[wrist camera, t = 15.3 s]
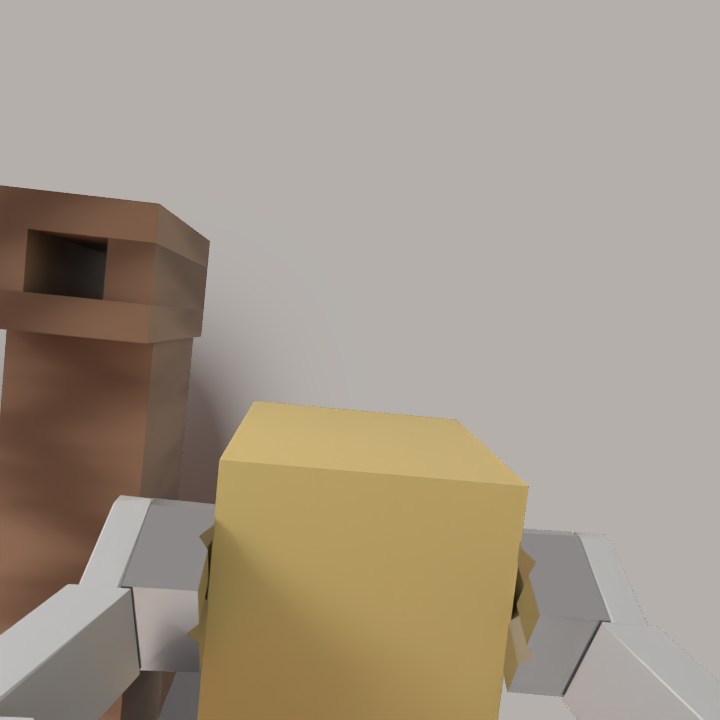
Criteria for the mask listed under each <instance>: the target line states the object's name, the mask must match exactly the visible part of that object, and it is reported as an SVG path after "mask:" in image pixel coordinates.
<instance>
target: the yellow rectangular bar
mask: <svg viewBox="0 0 720 720" xmlns="http://www.w3.org/2000/svg"><path fill="white" fill-rule="evenodd" d="M528 487H529V486H528V485H527V484H526V483H525V482H523V481H522V480H521V479H520V478H519V477H518V476H517V475H516V474H515V473H514V472H513V471H512V470H510V469H509V468H508V467H507V466H506V465H505V464H504V463H503V462H502V461H501V460H500V459H499V458H497V457H496V456H495V455H494V454H493V453H492V452H491V451H490V450H489V449H488V448H487V447H486V446H484V445H483V444H482V443H481V442H480V441H479V440H478V439H477V438H476V437H475V436H474V435H473V434H472V433H470V432H469V431H468V430H467V429H466V428H465V427H464V426H463V425H462V424H461V423H460V422H459V421H457V420H455V419H444V418H433V417H422V416H412V415H401V414H390V413H379V412H368V411H358V410H346V409H336V408H325V407H315V406H303V405H292V404H282V403H271V402H260V401H254V403H253V404H252V406H251V408H250V409H249V411H248V413H247V414H246V416H245V418H244V419H243V421H242V423H241V424H240V426H239V428H238V430H237V431H236V433H235V435H234V436H233V438H232V440H231V441H230V443H229V445H228V446H227V448H226V450H225V451H224V453H223V455H222V457H221V458H220V461H219V473H218V484H217V496H216V507H215V531H214V537H213V542H212V554H211V565H210V577H209V589H208V600H207V601H208V603H209V604H208V615H207V625H206V636H205V646H204V654H203V659H202V670H201V682H200V693H199V705H198V717H197V720H498V714H499V706H500V699H501V691H502V684H503V676H504V672H503V668H504V659H505V651H506V643H507V635H508V626H509V623H510V621H511V616H512V608H513V601H514V593H515V586H516V578H517V570H518V562H517V559H518V551H519V544H520V542H521V540H522V533H523V525H524V517H525V509H526V502H527V495H528Z"/></svg>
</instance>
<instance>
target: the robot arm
mask: <svg viewBox="0 0 720 720" xmlns="http://www.w3.org/2000/svg"><path fill="white" fill-rule="evenodd" d="M215 507H216V505H215V504H206V503H197V502H187V501H178V500H168V499H159V498H154V499H153V498H143V497H134V496H124V495H120V496H119V497H118V498H117V500H116V501H115V502H114V503H113V505H112V508H111V510H110V512H109V515H108V517H107V520H106V522H105V524H104V527H103V529H102V531H101V534H100V536H99V538H98V541H97V543H96V545H95V548H94V550H93V552H92V555H91V557H90V559H89V562H88V564H87V566H86V569H85V571H84V573H83V576H82V578H81V580H80V583H79V585H78V584H68V585H66V586H65V587H64V588H62V589H61V590H60V591H58V592H57V593H56V594H54V595H53V596H52V597H50V598H49V599H48V600H46V601H45V602H44V603H42V604H41V605H40V606H38V607H37V608H36V609H34V610H33V611H32V612H30V613H29V614H28V615H27V616H25V617H24V618H23V619H21V620H20V621H19V622H17V623H16V624H15V625H13V626H12V627H11V628H9V629H8V630H7V631H5V632H4V633H3V634H1V635H0V720H99V719H100V718H101V717H102V716H103V715H104V713H105V712H106V711H107V710H108V709H109V708H110V707H111V706H112V705H113V703H114V702H115V701H116V700H117V699H118V698H119V697H120V696H121V694H122V693H123V692H124V691H125V690H126V689H127V688H128V687H129V686H130V684H131V683H132V682H133V681H134V680H135V679H136V678H137V677H138V676H139V674H140V673H139V670H146V671H174V672H175V671H176V672H200V668H201V663H202V659H203V654H204V646H205V636H206V625H207V615H208V604H209V603H208V601H207V600H208V589H209V577H210V565H211V554H212V542H213V537H214V531H215ZM517 562H518V570H517V578H516V586H515V593H514V601H513V608H512V616H511V621H510V623H509V626H508V635H507V643H506V651H505V659H504V668H503V672H504V677H505V681H506V687H507V691H508V692H514V693H525V694H536V695H547V696H558V697H563V699H562V700H563V701H564V703H565V704H566V705H567V706H568V708H569V709H570V711H571V712H572V713H573V715H574V716H575V717H576V719H577V720H720V682H719V681H718V680H717V679H716V678H715V677H714V676H713V675H712V674H710V673H709V672H708V671H707V670H706V669H705V668H704V667H703V666H702V665H700V664H699V663H698V662H697V661H696V660H695V659H694V658H693V657H692V656H690V655H689V654H688V653H687V652H686V651H685V650H684V649H683V648H681V647H680V646H679V645H678V644H677V643H676V642H675V641H674V640H672V639H671V638H670V637H669V636H668V635H667V634H666V633H665V632H664V631H662V630H661V629H660V628H659V627H658V626H650V625H648V624H647V622H646V619H645V617H644V615H643V612H642V610H641V608H640V605H639V603H638V601H637V599H636V596H635V594H634V591H633V589H632V587H631V584H630V582H629V580H628V578H627V575H626V573H625V571H624V568H623V566H622V564H621V561H620V559H619V557H618V554H617V552H616V550H615V547H614V545H613V543H612V540H611V539H610V538H609V537H608V536H607V535H604V534H590V533H576V532H574V533H572V532H564V531H550V530H549V531H548V530H535V529H523V533H522V540H521V542H520V544H519V551H518V559H517Z"/></svg>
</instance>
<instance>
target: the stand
mask: <svg viewBox="0 0 720 720" xmlns="http://www.w3.org/2000/svg"><path fill="white" fill-rule="evenodd" d="M209 243H210V241H209V240H207V239H206V238H205V237H203V236H202V235H201V234H199V233H198V232H197V231H195V230H194V229H193V228H191V227H190V226H189V225H187V224H186V223H184V222H183V221H182V220H180V219H179V218H178V217H176V216H175V215H174V214H172V213H171V212H170V211H168V210H167V209H166V208H164V207H163V206H162V205H160V204H157V203H148V202H140V201H139V202H138V201H131V200H122V199H114V198H105V197H96V196H88V195H79V194H70V193H62V192H52V191H44V190H36V189H27V188H18V187H9V186H0V329H7V334H6V346H5V359H4V372H3V385H2V398H1V412H0V635H1V634H3V633H4V632H5V631H7V630H8V629H9V628H11V627H12V626H13V625H15V624H16V623H17V622H19V621H20V620H21V619H23V618H24V617H25V616H27V615H28V614H29V613H30V612H32V611H33V610H34V609H36V608H37V607H38V606H40V605H41V604H42V603H44V602H45V601H46V600H48V599H49V598H50V597H52V596H53V595H54V594H56V593H57V592H58V591H60V590H61V589H62V588H64V587H65V586H66V585H68V584H78V585H79V583H80V580H81V578H82V576H83V573H84V571H85V569H86V566H87V564H88V562H89V559H90V557H91V555H92V552H93V550H94V548H95V545H96V543H97V541H98V538H99V536H100V534H101V531H102V529H103V527H104V524H105V522H106V520H107V517H108V515H109V512H110V510H111V508H112V505H113V503H114V502H115V501H116V500H117V498H118V497H119V496H120V495H124V496H134V497H143V498H153V499H154V498H159V499H168V500H178V498H179V487H180V476H181V465H182V454H183V443H184V431H185V420H186V411H187V410H186V409H187V399H188V388H189V377H190V367H191V356H192V344H193V337H199V336H201V331H202V320H203V309H204V299H205V288H206V277H207V266H208V255H209ZM139 673H140V674H139V676H138V677H137V678H136V679H135V680H134V681H133V682H132V683H131V684H130V686H129V687H128V688H127V689H126V690H125V691H124V692H123V693H122V694H121V696H120V697H119V698H118V699H117V700H116V701H115V702H114V703H113V705H112V706H111V707H110V708H109V709H108V710H107V711H106V712H105V713H104V715H103V716H102V717H101V718H100V719H99V720H158V717H159V707H160V695H161V685H162V674H163V671H146V670H139Z"/></svg>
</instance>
